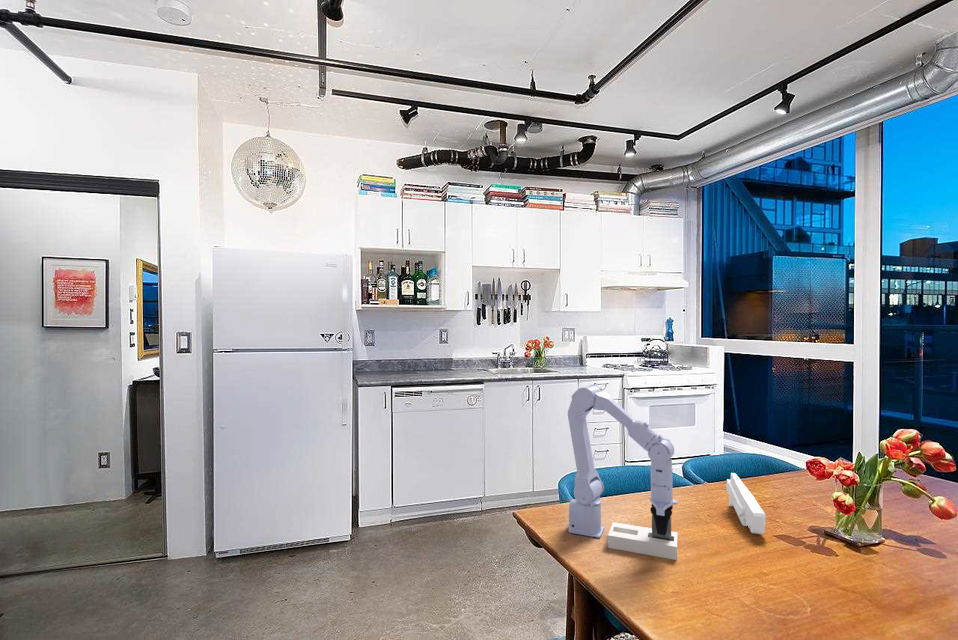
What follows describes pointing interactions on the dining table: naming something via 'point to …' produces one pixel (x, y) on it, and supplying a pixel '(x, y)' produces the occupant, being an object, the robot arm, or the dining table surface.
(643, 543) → the white board with holes
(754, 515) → the shelf bracket
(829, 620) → the dining table surface
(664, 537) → the gray rectangular block
